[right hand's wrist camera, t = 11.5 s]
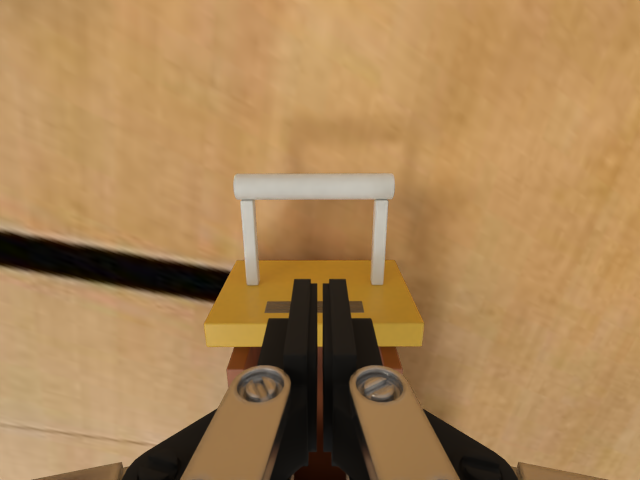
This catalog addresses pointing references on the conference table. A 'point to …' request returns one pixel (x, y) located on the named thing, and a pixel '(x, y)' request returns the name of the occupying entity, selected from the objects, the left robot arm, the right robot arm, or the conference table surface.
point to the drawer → (278, 278)
